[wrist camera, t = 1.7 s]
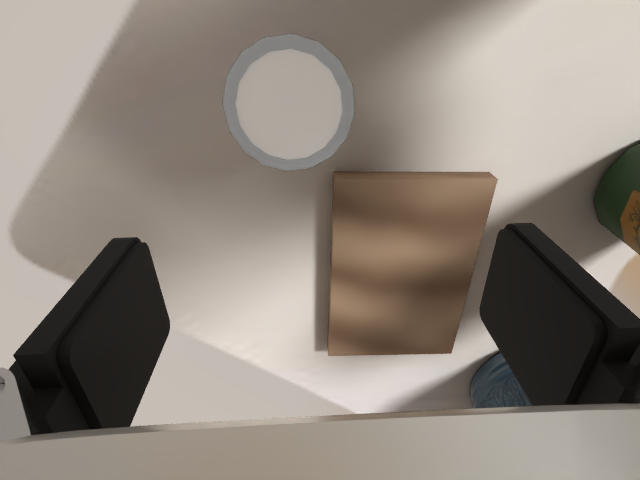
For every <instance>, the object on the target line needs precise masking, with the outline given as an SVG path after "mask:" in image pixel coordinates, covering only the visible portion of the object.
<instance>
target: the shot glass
mask: <svg viewBox="0 0 640 480" xmlns="http://www.w3.org/2000/svg"><path fill="white" fill-rule="evenodd" d="M222 104H223V108H224V112H225V116H226V120H227V124H228V129H229V131H230V132H231V134H232V135H233V137H234V138H235V139H236V141H237V142H238V144H239V145H240V147H241V148H242V150H243V151H244V152H246V153H247V154H248V155H250V156H251V157H253V158H254V159H256V160H257V161H259V162H260V163H261V164H263V165H265V166H269V167H273V168H277V169H281V170H285V171H291V170H299V169H307V168H312V167H313V166H315V165H317V164H319V163H321V162H322V161H324V160H326V159H328V158H330V157H331V156H332V155H333V154H334V153H335V152H336V150H337V149H338V148H339V147H340V145H341V144H342V143H343V142H344V140H345V139H346V138H347V136H348V133H349V130H350V126H351V123H352V120H353V117H354V114H355V109H354V95H353V85H352V83H351V81H350V79H349V77H348V75H347V73H346V71H345V69H344V67H343V65H342V63H341V61H340V60H339V59H338V58H337V57H336V56H335V55H333V54H332V53H331V52H330V51H329V50H328V49H327V48H326V47H324V46H323V45H322V44H321V43H320V42H318V41H315V40H311V39H308V38H305V37H302V36H299V35H295V34H285V35H277V36H270V37H264V38H262V39H261V40H259V41H258V42H256V43H255V44H253V45H252V46H250V47H249V48H247V49H246V50H244V51H243V52H241V54H240V55H239V57H238V58H237V60H236V62H235V63H234V65H233V66H232V68H231V70H230V71H229V73H228V75H227V76H226V83H225V90H224V96H223V103H222Z"/></svg>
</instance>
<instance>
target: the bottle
mask: <svg viewBox="0 0 640 480" xmlns="http://www.w3.org/2000/svg"><path fill="white" fill-rule="evenodd" d="M594 204H595V208H596V213H597V217H598V221H599V222H600V223H601V224H602V225H604V226H605V227H606V228H607V229H608V230H610V231H611V232H612V233H613V234H615V235H616V236H617V237H618V238H620V239H621V240H622V241H623V242H624V243H626V244H627V245H628V246H629V247H631V248H632V249H633V250H634V251H636V252H637V253H638V254H639V255H640V144H638V145H635V146H633V147H631V148H629V149H628V150H627V151H626V152H625V153H624V154H623V155H622V156H621V157H620V158H619V159H618V160H617V161H616V162H615V163H614V164H613V165H612V166H611V167H610V168H609V169H608V170H607V171H606V172H605V173H604V176H603V178H602V181H601V183H600V186H599V188H598V191H597V193H596V196H595V198H594Z"/></svg>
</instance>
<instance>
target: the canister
mask: <svg viewBox="0 0 640 480" xmlns="http://www.w3.org/2000/svg"><path fill="white" fill-rule="evenodd" d="M470 396H471V399H472V406H473V409H477V408H500V407H523V406H532V404H531V402H530V401H529V399H528V397H527V395H526V394H525V392H524V390H523V389H522V387H521V385H520V384H519V382H518V380H517V379H516V377H515V375H514V374H513V372H512V370H511V369H510V367H509V365H508V364H507V362H506V360H505V358H504V357H503V355H502V353H501V352H500V353H499V354H497V355H495V356H494V357H492V358H491V359H490V360H488V361H487V362H486V363H485V364H484V365H483V366H482V367H481V368H480V369H479V370H478V372H477V373H476V374H475V376H474V378H473V380H472V383H471V386H470Z"/></svg>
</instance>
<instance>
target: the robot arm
mask: <svg viewBox="0 0 640 480" xmlns="http://www.w3.org/2000/svg"><path fill="white" fill-rule="evenodd" d="M480 317H481V320H482V321H483V323H484V325H485V327H486V328H487V330H488V332H489V333H490V335H491V337H492V338H493V340H494V342H495V343H496V345H497V347H498V348H499V350H500V352H501V353H502V355H503V357H504V358H505V360H506V362H507V364H508V365H509V367H510V369H511V370H512V372H513V374H514V375H515V377H516V379H517V380H518V382H519V384H520V385H521V387H522V389H523V390H524V392H525V394H526V395H527V397H528V399H529V401H530V402H531V404H532V406H523V407H500V408H477V409H455V410H432V411H411V412H391V413H370V414H350V415H332V416H331V415H330V416H311V417H291V418H272V419H254V420H235V421H217V422H200V423H181V424H164V425H148V426H135V427H130V425H131V423H132V420H133V417H134V416H135V413H136V411H137V408H138V406H139V404H140V401H141V399H142V396H143V394H144V391H145V389H146V387H147V384H148V382H149V380H150V377H151V375H152V372H153V370H154V368H155V365H156V363H157V360H158V358H159V356H160V353H161V351H162V348H163V346H164V344H165V341H166V339H167V337H168V334H169V330H170V320H169V317H168V313H167V310H166V306H165V303H164V299H163V296H162V292H161V289H160V285H159V282H158V278H157V275H156V271H155V268H154V264H153V261H152V257H151V254H150V250H149V247H148V245H147V244H146V243H145V242H144V243H141V241H140V239H139V238H137V237H132V238H113V239H112V240H111V241H110V242H109V243H108V244H107V246H106V247H105V248H104V249H103V250H102V251H101V253H100V254H99V255H98V256H97V257H96V258H95V260H94V261H93V262H92V263H91V264H90V266H89V267H88V268H87V269H86V270H85V271H84V273H83V274H82V275H81V276H80V277H79V278H78V280H77V281H76V282H75V283H74V284H73V285H72V287H71V288H70V289H69V290H68V291H67V293H66V294H65V295H64V296H63V297H62V298H61V300H60V301H59V302H58V303H57V304H56V305H55V307H54V308H53V309H52V310H51V311H50V313H49V314H48V315H47V316H46V317H45V318H44V320H43V321H42V322H41V323H40V324H39V325H38V327H37V328H36V329H35V330H34V331H33V333H32V334H31V335H30V336H29V337H28V338H27V340H26V341H25V342H24V343H23V344H22V345H21V347H20V348H19V349H18V350H17V351H16V353H15V354H14V355H13V356H14V358H15V359H16V361H15V362H14V364H13V365H12V366H11V367H10V368H9V370H7V369H4V368H0V480H640V319H639V318H638V317H637V316H636V315H635V314H634V313H632V312H631V311H630V310H629V309H628V308H627V307H626V306H625V305H624V304H622V303H621V302H620V301H619V300H618V299H617V298H616V297H615V296H613V295H612V294H611V293H610V292H609V291H608V290H607V289H606V288H605V287H603V286H602V285H601V284H600V283H599V282H598V281H597V280H596V279H594V278H593V277H592V276H591V275H590V274H589V273H588V272H587V271H585V270H584V269H583V268H582V267H581V266H580V265H579V264H578V263H577V262H575V261H574V260H573V259H572V258H571V257H570V256H569V255H568V254H566V253H565V252H564V251H563V250H562V249H561V248H560V247H559V246H557V245H556V244H555V243H554V242H553V241H552V240H551V239H550V238H549V237H547V236H546V235H545V234H544V233H543V232H542V231H541V230H540V229H538V228H537V227H536V226H535V225H534V224H532V223H515V224H508V225H506V227H505V228H504V229H501V230H500V231H499V233H498V235H497V239H496V243H495V247H494V251H493V255H492V259H491V264H490V268H489V272H488V276H487V280H486V284H485V288H484V292H483V296H482V300H481V304H480Z"/></svg>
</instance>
